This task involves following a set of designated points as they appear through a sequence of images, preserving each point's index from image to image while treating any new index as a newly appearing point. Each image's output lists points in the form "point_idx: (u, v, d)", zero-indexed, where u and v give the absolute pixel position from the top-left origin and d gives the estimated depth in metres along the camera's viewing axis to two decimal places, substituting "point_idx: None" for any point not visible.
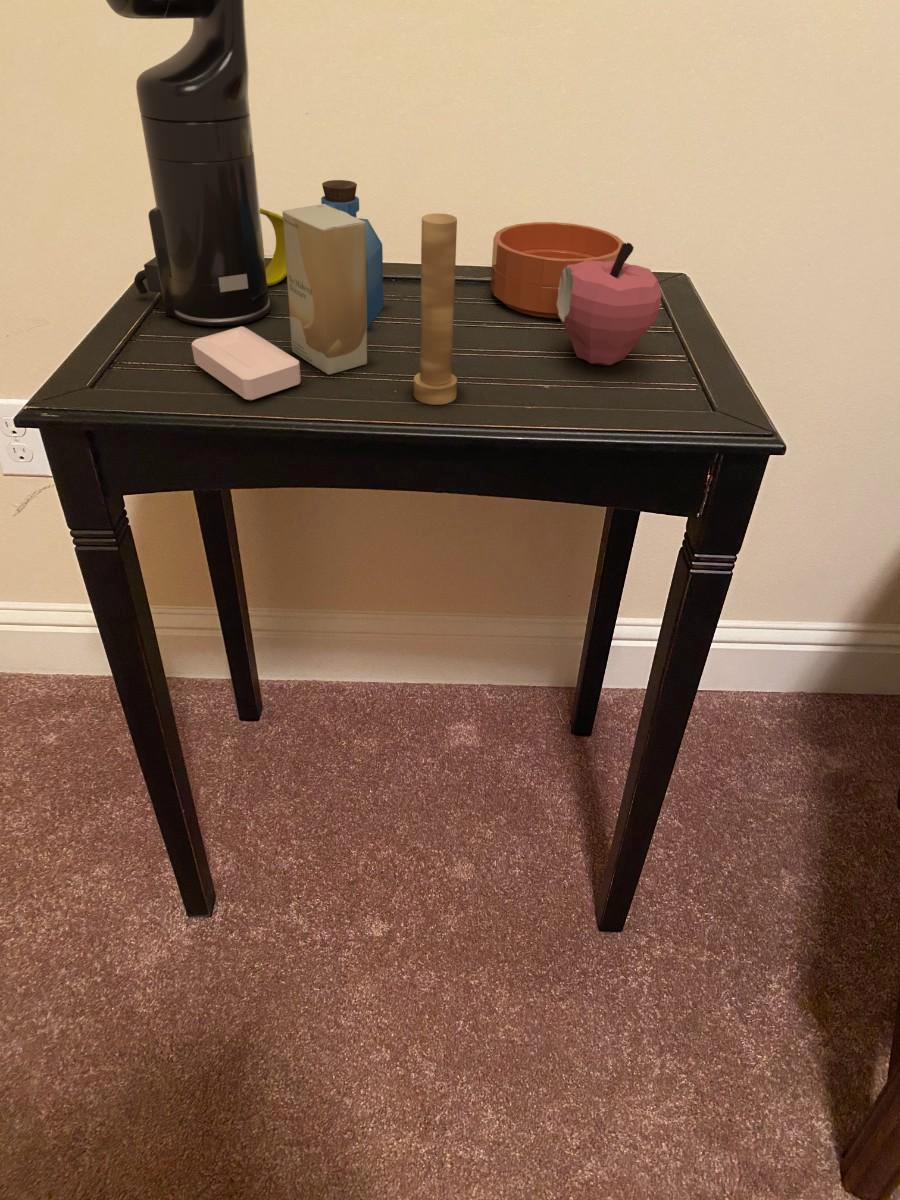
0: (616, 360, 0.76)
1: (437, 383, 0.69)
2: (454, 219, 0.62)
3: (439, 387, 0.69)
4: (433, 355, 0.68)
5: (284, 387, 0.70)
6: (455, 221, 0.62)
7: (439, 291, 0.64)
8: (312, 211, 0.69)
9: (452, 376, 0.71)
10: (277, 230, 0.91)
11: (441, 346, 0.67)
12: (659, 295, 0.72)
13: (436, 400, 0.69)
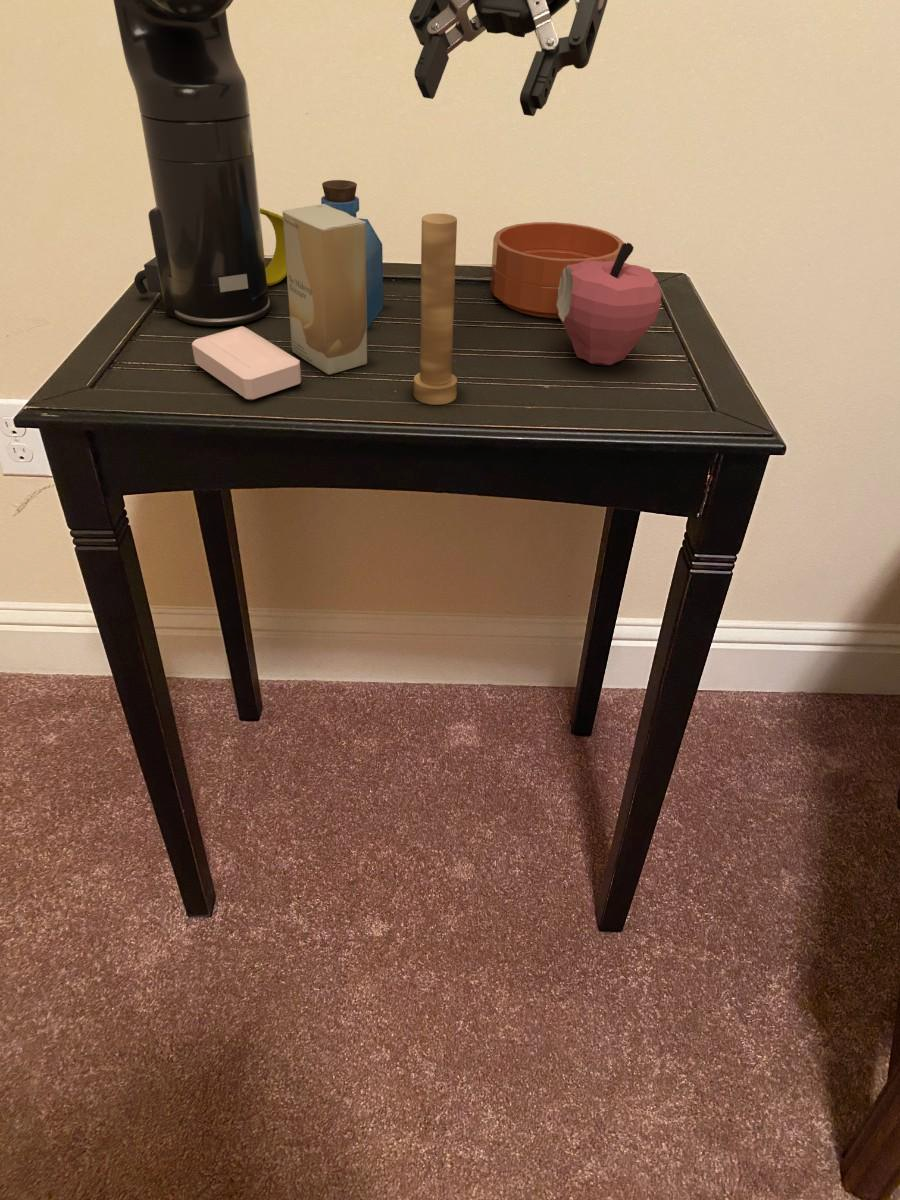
0: (616, 360, 0.76)
1: (437, 383, 0.69)
2: (454, 219, 0.62)
3: (439, 387, 0.69)
4: (433, 355, 0.68)
5: (285, 387, 0.70)
6: (455, 221, 0.62)
7: (439, 291, 0.64)
8: (312, 211, 0.69)
9: (452, 376, 0.71)
10: (277, 230, 0.91)
11: (441, 346, 0.67)
12: (659, 295, 0.72)
13: (436, 400, 0.69)
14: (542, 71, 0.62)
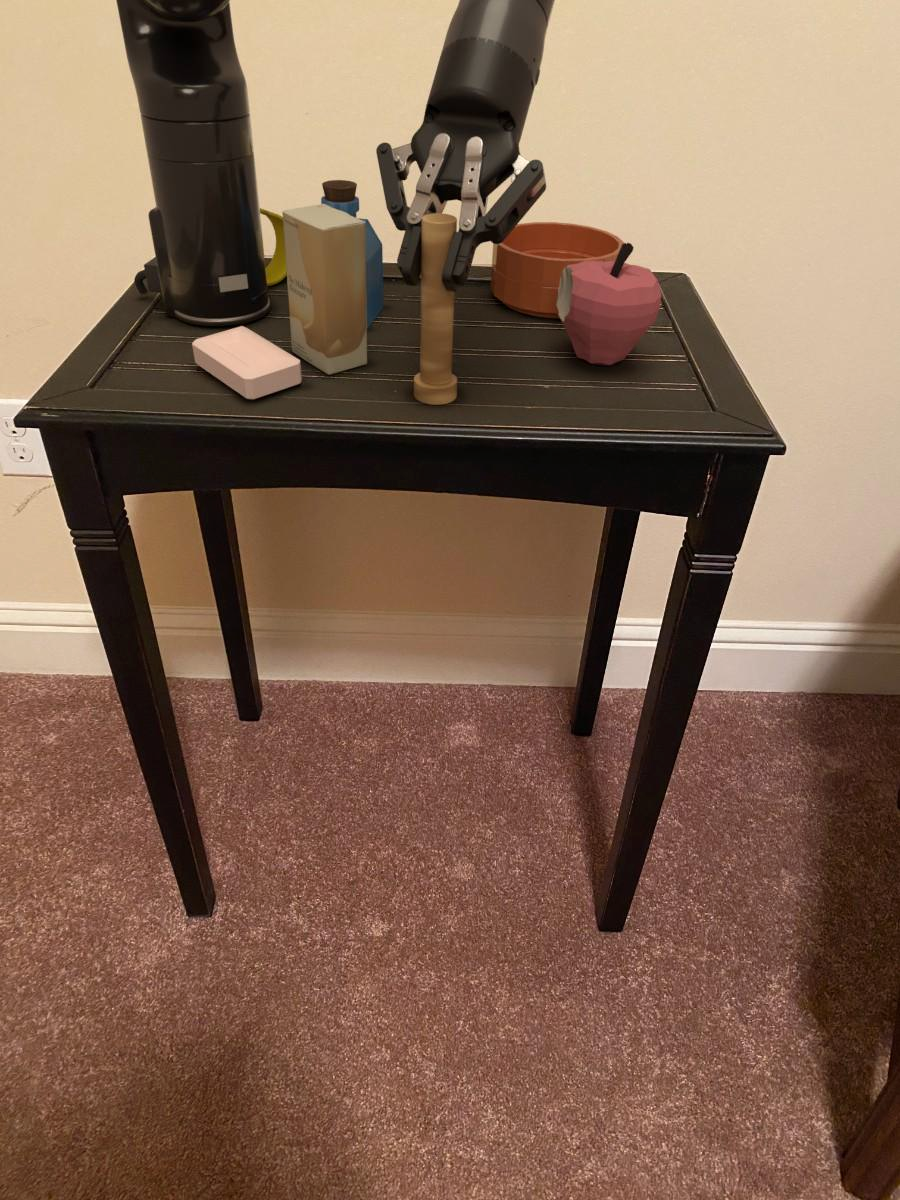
0: (616, 360, 0.76)
1: (437, 383, 0.69)
2: (453, 219, 0.62)
3: (440, 387, 0.69)
4: (433, 355, 0.68)
5: (285, 386, 0.70)
6: (455, 221, 0.62)
7: (439, 291, 0.64)
8: (312, 211, 0.69)
9: (452, 376, 0.71)
10: (277, 230, 0.91)
11: (441, 345, 0.67)
12: (659, 295, 0.72)
13: (436, 400, 0.69)
14: (461, 251, 0.62)
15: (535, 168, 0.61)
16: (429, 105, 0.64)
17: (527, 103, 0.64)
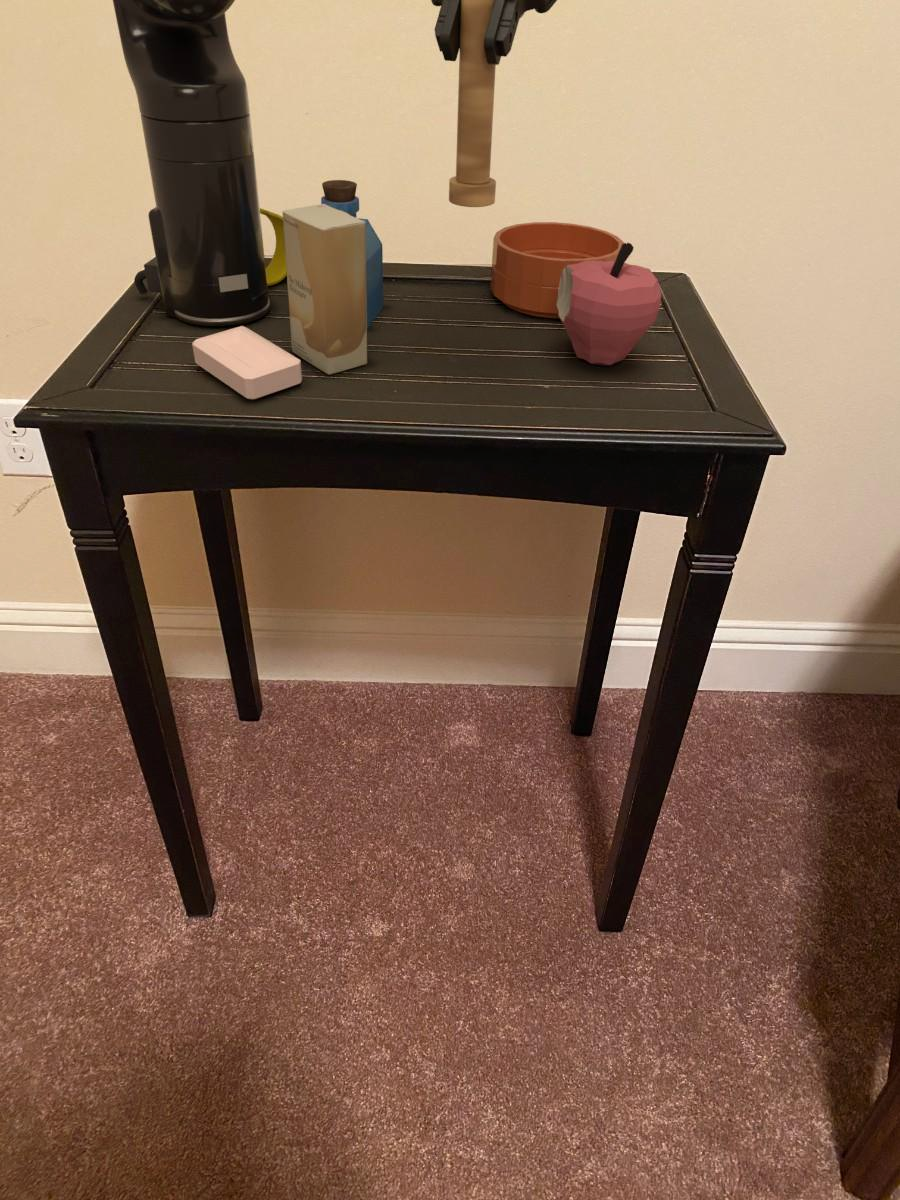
0: (616, 360, 0.76)
1: (475, 181, 0.64)
2: None
3: (478, 185, 0.64)
4: (472, 146, 0.63)
5: (286, 386, 0.70)
6: None
7: (479, 67, 0.60)
8: (312, 211, 0.69)
9: (490, 179, 0.66)
10: (277, 230, 0.91)
11: (480, 135, 0.62)
12: (659, 295, 0.72)
13: (474, 201, 0.65)
14: (504, 15, 0.57)
15: None
16: None
17: None
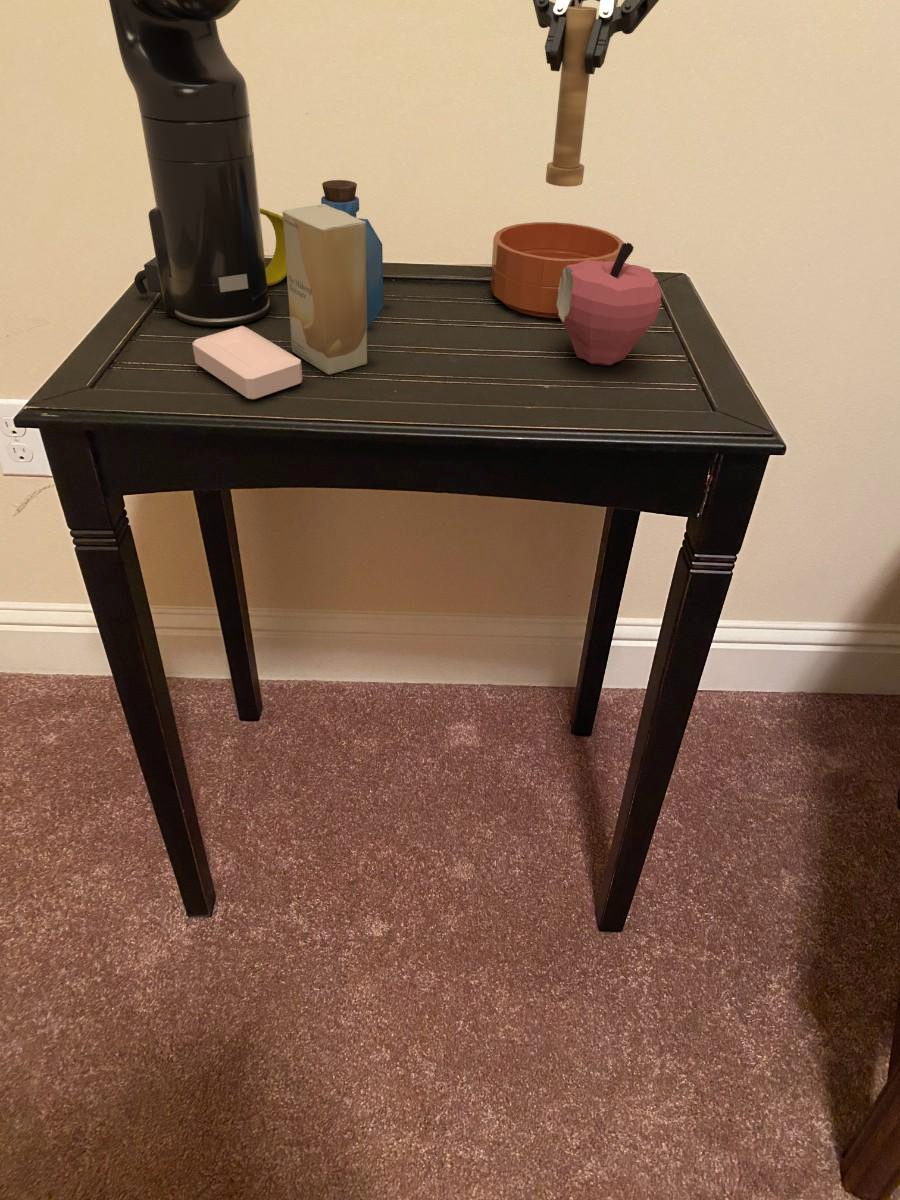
0: (616, 360, 0.76)
1: (569, 166, 0.81)
2: (595, 8, 0.74)
3: (571, 169, 0.81)
4: (568, 138, 0.79)
5: (286, 386, 0.70)
6: (596, 9, 0.74)
7: (578, 76, 0.76)
8: (312, 211, 0.69)
9: (579, 164, 0.82)
10: (277, 230, 0.91)
11: (576, 129, 0.79)
12: (659, 295, 0.72)
13: (567, 182, 0.81)
14: (600, 36, 0.74)
15: None
16: None
17: None
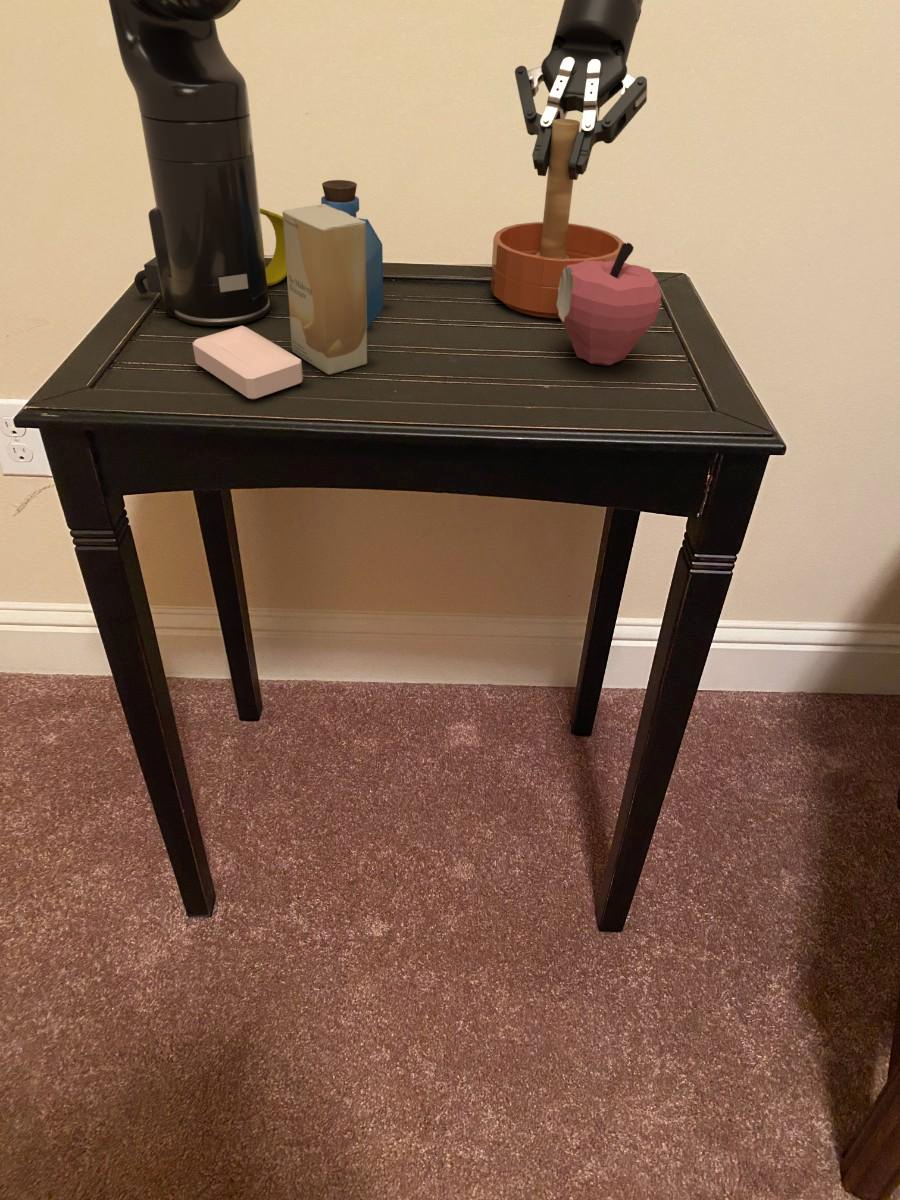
0: (616, 360, 0.76)
1: (555, 257, 0.88)
2: (578, 122, 0.81)
3: None
4: (554, 234, 0.87)
5: (286, 386, 0.70)
6: (579, 123, 0.81)
7: (563, 180, 0.84)
8: (312, 211, 0.69)
9: (564, 255, 0.90)
10: (277, 230, 0.91)
11: (561, 226, 0.86)
12: (659, 295, 0.72)
13: None
14: (583, 147, 0.82)
15: (641, 82, 0.81)
16: (557, 36, 0.83)
17: (632, 35, 0.83)
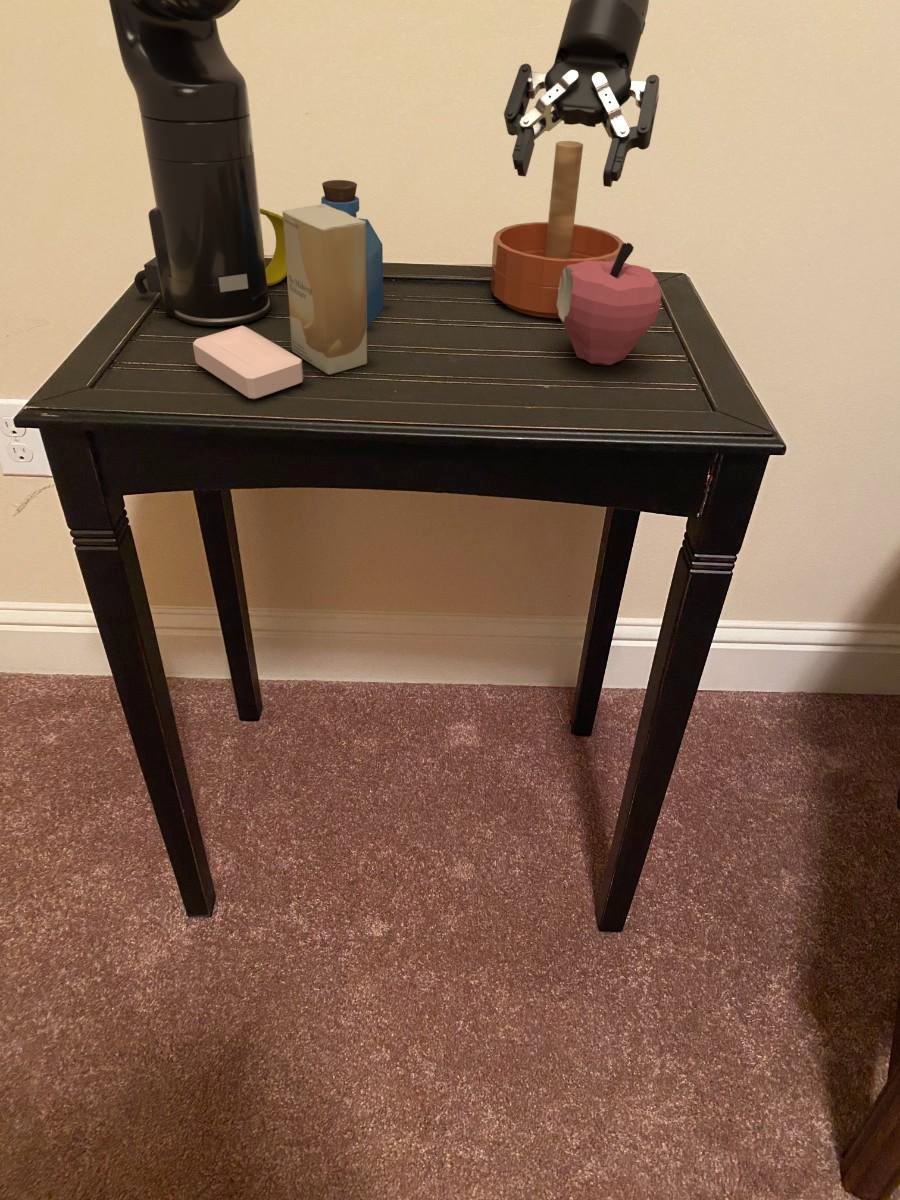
0: (616, 360, 0.76)
1: None
2: (581, 144, 0.81)
3: None
4: (557, 255, 0.86)
5: (287, 386, 0.70)
6: (582, 146, 0.81)
7: (566, 202, 0.83)
8: (312, 211, 0.69)
9: None
10: (277, 230, 0.91)
11: (564, 247, 0.86)
12: (659, 295, 0.72)
13: None
14: (618, 153, 0.80)
15: (654, 80, 0.80)
16: (560, 49, 0.82)
17: (636, 47, 0.82)
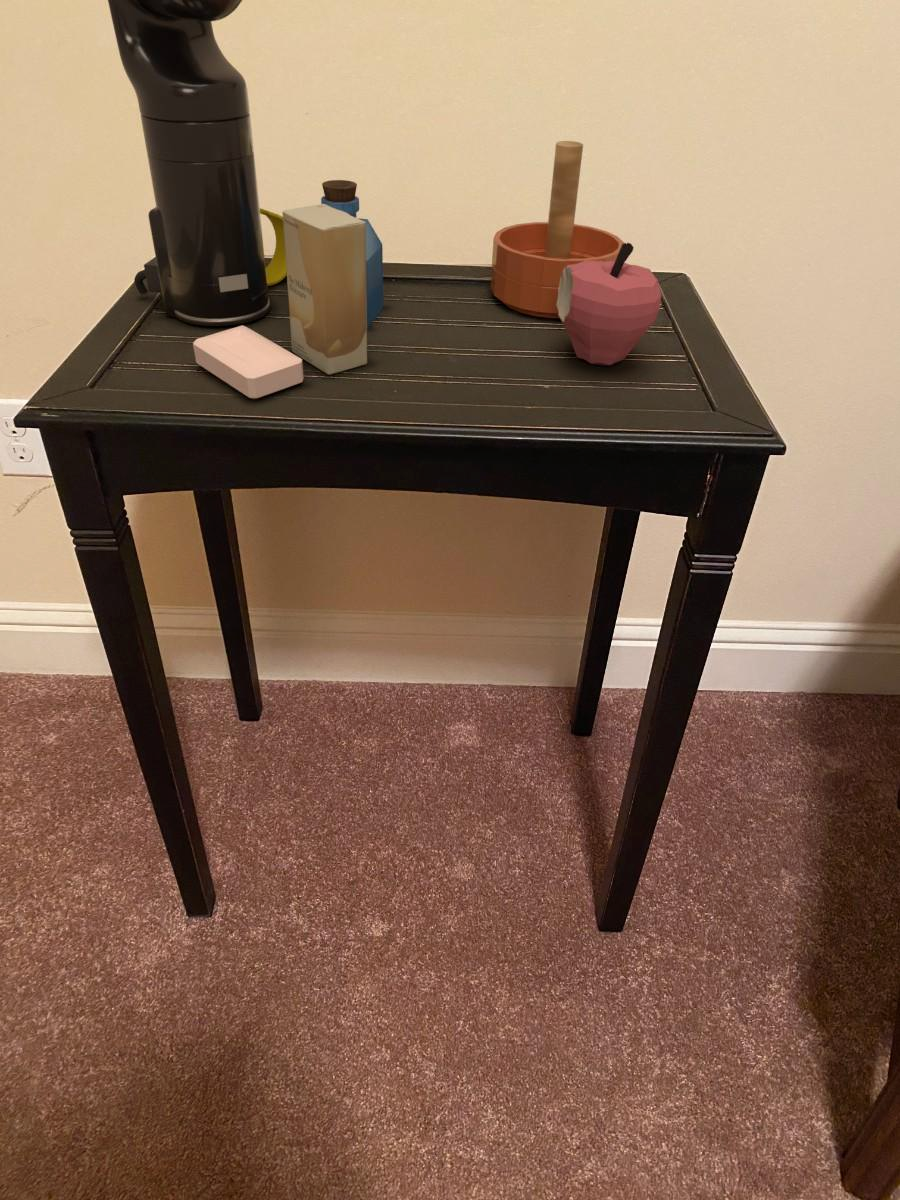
0: (616, 360, 0.76)
1: None
2: (581, 144, 0.81)
3: None
4: (557, 255, 0.86)
5: (287, 385, 0.71)
6: (582, 146, 0.81)
7: (566, 202, 0.83)
8: (312, 211, 0.69)
9: None
10: (277, 230, 0.91)
11: (564, 247, 0.86)
12: (659, 295, 0.72)
13: None
14: None
15: None
16: None
17: None
